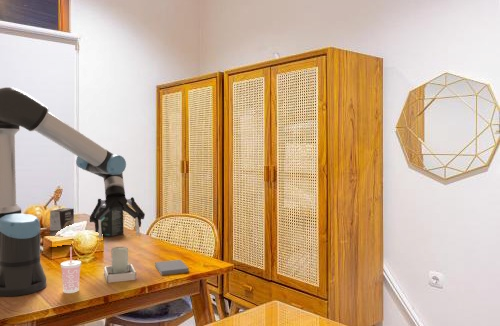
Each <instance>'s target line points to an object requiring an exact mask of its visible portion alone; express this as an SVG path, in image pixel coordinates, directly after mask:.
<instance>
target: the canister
mask: <svg viewBox="0 0 500 326" xmlns="http://www.w3.org/2000/svg"><path fill="white" fill-rule="evenodd" d="M128 264H129V247H128V246H114V247H112V248H111V266H112V273H111V275H113V274H122V273H129V271H128Z"/></svg>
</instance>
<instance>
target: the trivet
mask: <svg viewBox="0 0 500 326" xmlns="http://www.w3.org/2000/svg"><path fill="white" fill-rule="evenodd" d="M154 266H155V269H156V270H157V271H158V272H159V273H160V275H161V276H166V275H168V276H169V275H175V274H184V273H189V272H190V270H189V269H190V268H189V267H188V266H187V265H186V264H185V263H184V261H182V260H181V259H173V260H165V261H154Z"/></svg>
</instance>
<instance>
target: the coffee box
mask: <svg viewBox="0 0 500 326" xmlns="http://www.w3.org/2000/svg"><path fill="white" fill-rule="evenodd" d="M74 209H75V208H68V207H67V208H65V207H64V208H63V207H62V208H58V209H54V210H50V211H49V237H50V236H55V235H56V233H57V232H58V231H60V230H61V229H63V228H65V227H66V226H69V225H72V224H74V225H75V222H74V221H75V214H74V213H75V210H74Z"/></svg>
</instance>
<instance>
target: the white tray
mask: <svg viewBox="0 0 500 326" xmlns="http://www.w3.org/2000/svg"><path fill="white" fill-rule="evenodd" d="M103 269H104V270H103V272H104V278H105V281H106V283H107V284H109V283H118V282H126V281H134V280H137V271H136V270H135V268H134V265H133V264H132V263H128V273H122V274H113V275H112V265H106V266H104V267H103Z"/></svg>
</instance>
